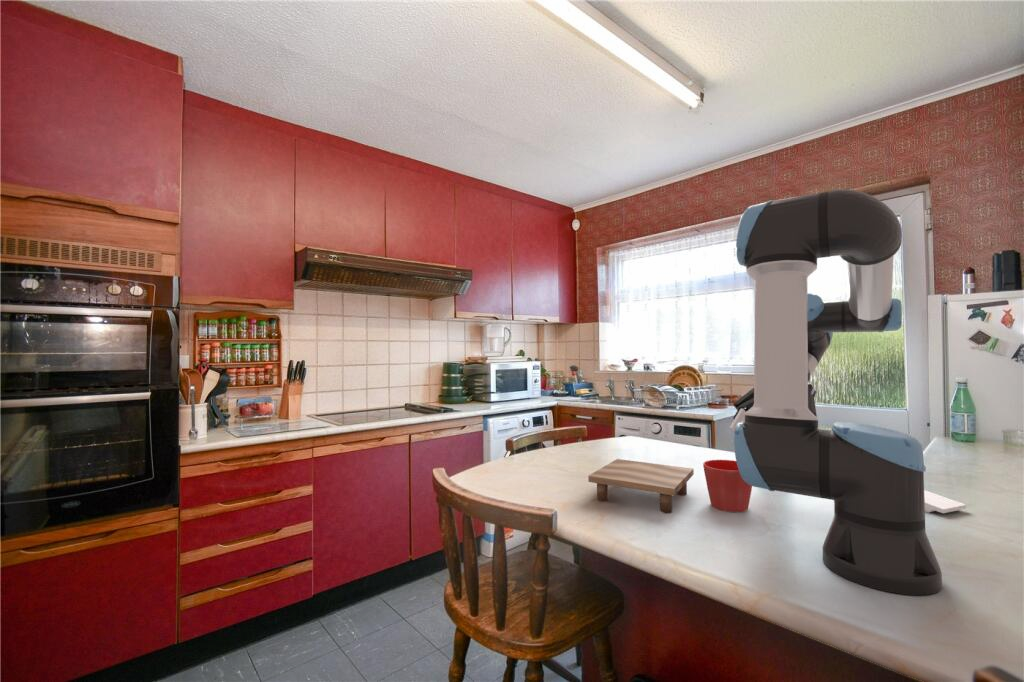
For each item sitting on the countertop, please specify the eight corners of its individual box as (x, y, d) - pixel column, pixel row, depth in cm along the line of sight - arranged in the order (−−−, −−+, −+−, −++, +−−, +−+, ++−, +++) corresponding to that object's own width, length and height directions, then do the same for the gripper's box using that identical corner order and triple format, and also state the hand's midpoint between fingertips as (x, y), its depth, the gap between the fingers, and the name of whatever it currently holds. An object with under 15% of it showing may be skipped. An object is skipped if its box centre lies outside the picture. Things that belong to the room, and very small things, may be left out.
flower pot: (693, 502, 110) (692, 461, 110) (730, 497, 113) (730, 457, 113) (726, 517, 100) (725, 472, 100) (766, 512, 103) (766, 468, 103)
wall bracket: (960, 536, 103) (835, 486, 129) (970, 505, 103) (843, 461, 129) (935, 532, 100) (811, 480, 126) (945, 500, 100) (819, 455, 126)
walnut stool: (674, 516, 100) (674, 488, 100) (588, 500, 111) (588, 475, 111) (693, 492, 117) (693, 468, 117) (617, 480, 128) (617, 458, 128)
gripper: (854, 384, 109) (818, 456, 102) (756, 378, 131) (721, 437, 124) (841, 362, 107) (804, 434, 100) (743, 360, 129) (707, 418, 122)
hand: (757, 436), depth 112 cm, fingers open, 13 cm apart
